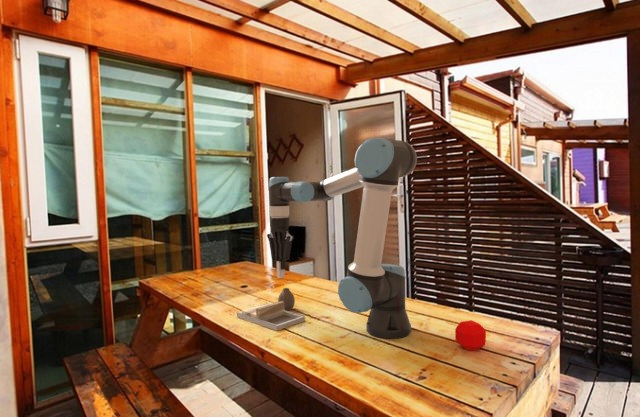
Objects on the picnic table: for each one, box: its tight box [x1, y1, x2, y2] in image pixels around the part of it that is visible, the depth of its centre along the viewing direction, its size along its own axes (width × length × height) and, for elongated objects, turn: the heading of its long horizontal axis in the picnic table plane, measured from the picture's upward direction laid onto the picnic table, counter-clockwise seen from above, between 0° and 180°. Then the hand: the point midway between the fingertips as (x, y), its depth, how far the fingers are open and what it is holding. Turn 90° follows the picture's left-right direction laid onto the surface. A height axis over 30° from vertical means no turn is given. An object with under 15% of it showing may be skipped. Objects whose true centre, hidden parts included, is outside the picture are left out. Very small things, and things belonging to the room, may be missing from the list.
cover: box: [241, 301, 285, 319], centre depth 155 cm, size 11×13×4 cm
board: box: [236, 310, 306, 332], centre depth 152 cm, size 24×14×2 cm, turn 46°
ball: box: [454, 320, 487, 351], centre depth 120 cm, size 8×8×8 cm
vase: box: [277, 287, 296, 312], centre depth 163 cm, size 7×7×9 cm
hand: (280, 277), depth 153 cm, fingers closed
